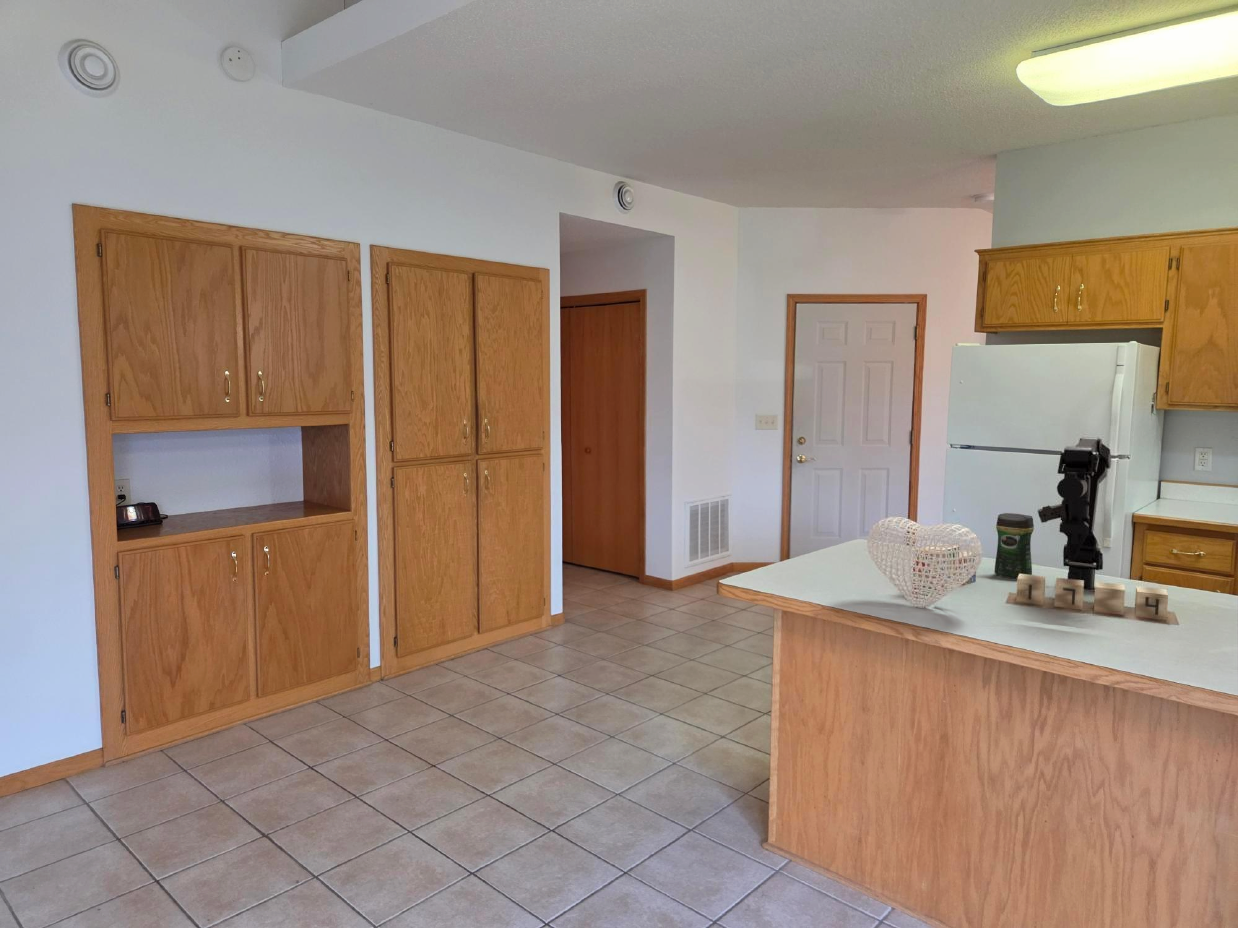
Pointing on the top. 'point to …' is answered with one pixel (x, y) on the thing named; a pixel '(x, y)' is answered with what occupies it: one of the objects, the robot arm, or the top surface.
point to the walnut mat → (1089, 609)
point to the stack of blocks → (970, 580)
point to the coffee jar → (1014, 545)
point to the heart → (919, 531)
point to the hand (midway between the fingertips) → (1073, 556)
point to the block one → (1030, 589)
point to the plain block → (1109, 598)
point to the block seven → (1069, 593)
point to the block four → (1151, 603)
